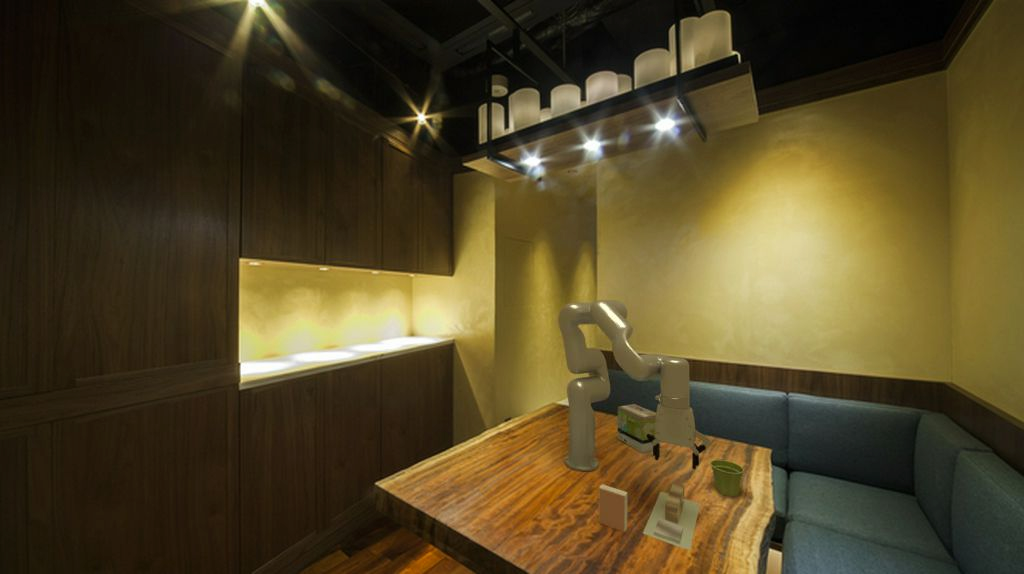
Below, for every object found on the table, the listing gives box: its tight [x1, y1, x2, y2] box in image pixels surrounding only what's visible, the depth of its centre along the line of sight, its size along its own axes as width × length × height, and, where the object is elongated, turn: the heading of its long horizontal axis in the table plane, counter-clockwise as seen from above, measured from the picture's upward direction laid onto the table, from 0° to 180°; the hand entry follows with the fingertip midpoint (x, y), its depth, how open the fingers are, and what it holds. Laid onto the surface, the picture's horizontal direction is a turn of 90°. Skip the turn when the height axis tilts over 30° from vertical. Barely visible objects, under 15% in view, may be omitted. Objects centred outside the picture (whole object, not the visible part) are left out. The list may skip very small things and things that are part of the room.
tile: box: [598, 484, 628, 533], centre depth 94 cm, size 2×7×10 cm, turn 57°
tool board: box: [642, 491, 701, 552], centre depth 97 cm, size 24×11×1 cm, turn 147°
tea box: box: [617, 403, 660, 453], centre depth 149 cm, size 15×10×15 cm, turn 25°
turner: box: [654, 482, 685, 544], centre depth 97 cm, size 21×6×5 cm, turn 147°
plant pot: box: [709, 459, 745, 498], centre depth 112 cm, size 9×9×9 cm
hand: (675, 463), depth 99 cm, fingers open, 9 cm apart
